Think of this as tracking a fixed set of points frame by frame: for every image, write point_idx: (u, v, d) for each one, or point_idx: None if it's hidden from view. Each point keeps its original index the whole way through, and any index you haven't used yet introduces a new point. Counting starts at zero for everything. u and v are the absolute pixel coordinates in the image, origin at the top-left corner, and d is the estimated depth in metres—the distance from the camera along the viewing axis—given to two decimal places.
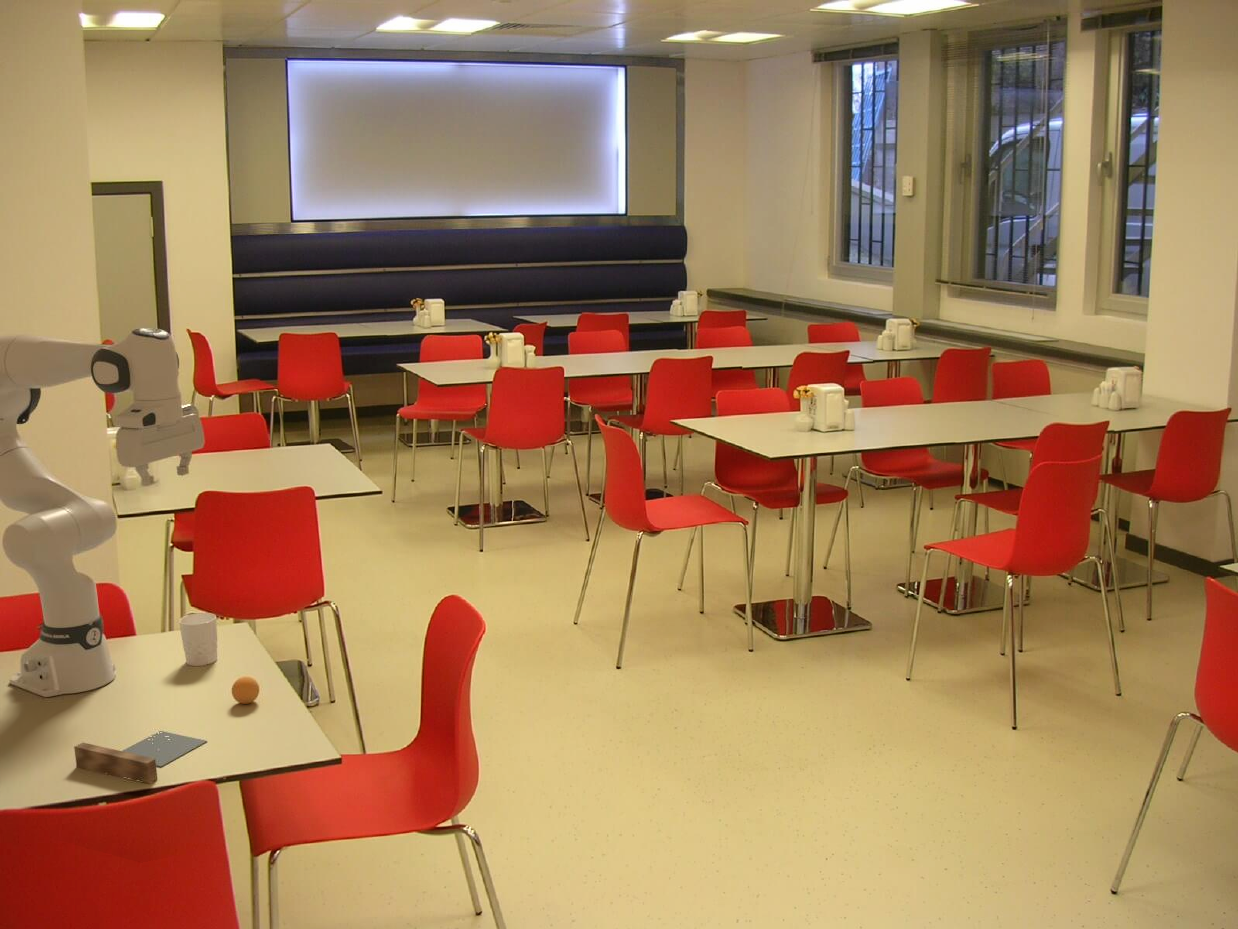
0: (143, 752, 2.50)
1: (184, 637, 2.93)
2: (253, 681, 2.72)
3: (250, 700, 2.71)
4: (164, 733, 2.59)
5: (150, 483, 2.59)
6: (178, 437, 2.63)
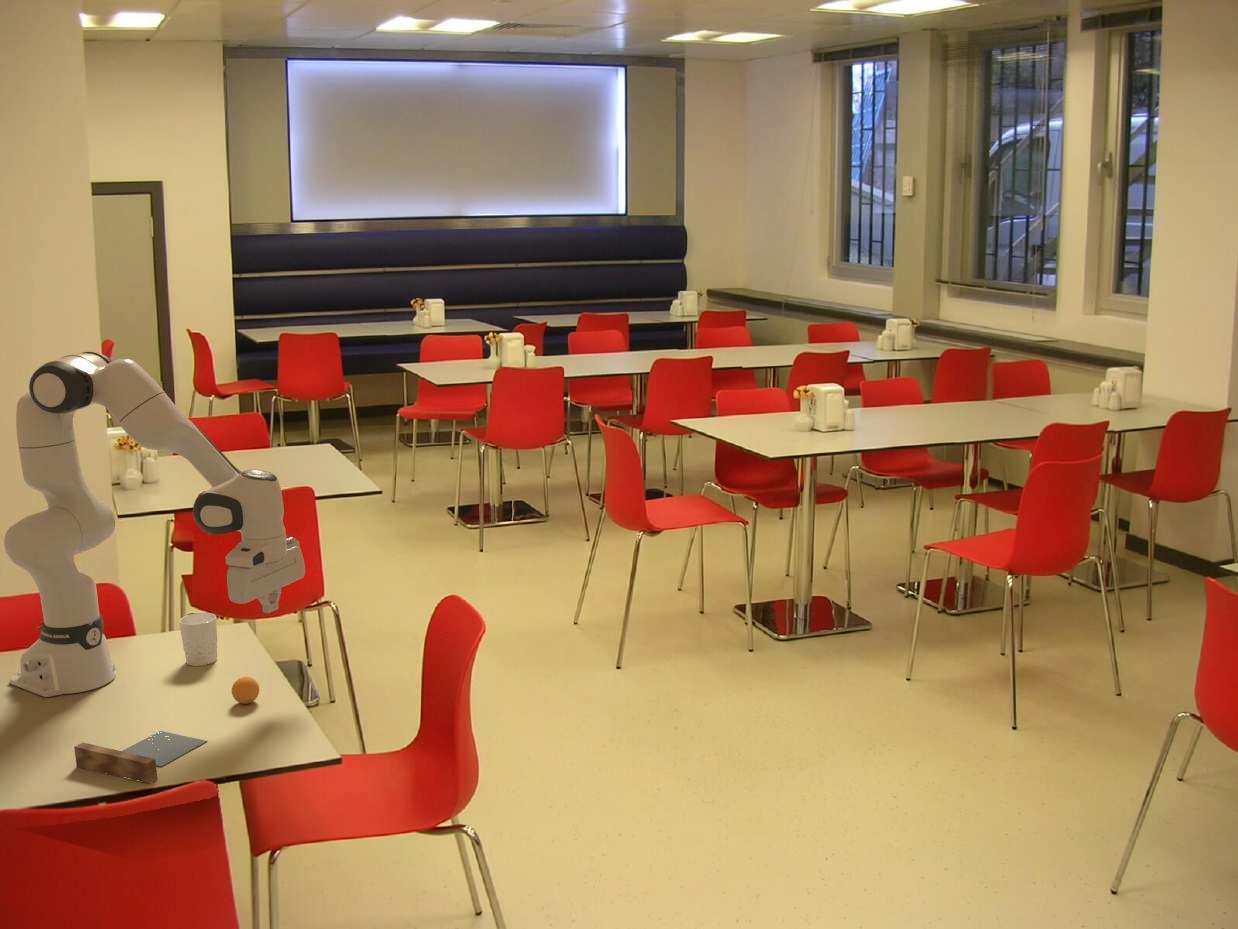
0: (143, 752, 2.50)
1: (184, 637, 2.93)
2: (253, 681, 2.72)
3: (250, 700, 2.71)
4: (164, 733, 2.59)
5: (270, 610, 2.77)
6: (282, 570, 2.78)
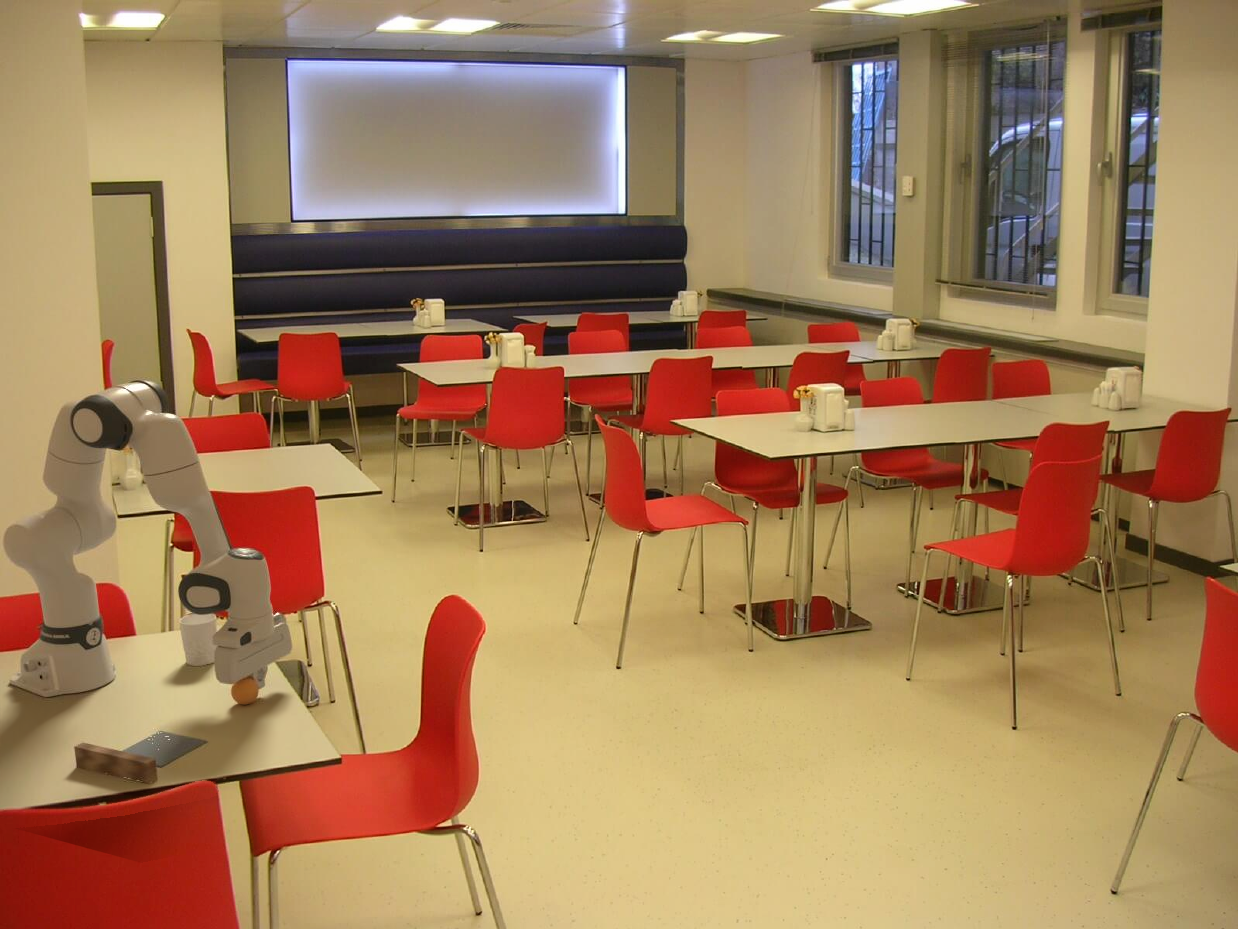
0: (143, 752, 2.50)
1: (184, 637, 2.93)
2: (252, 682, 2.72)
3: (250, 701, 2.71)
4: (164, 733, 2.59)
5: None
6: (269, 648, 2.76)
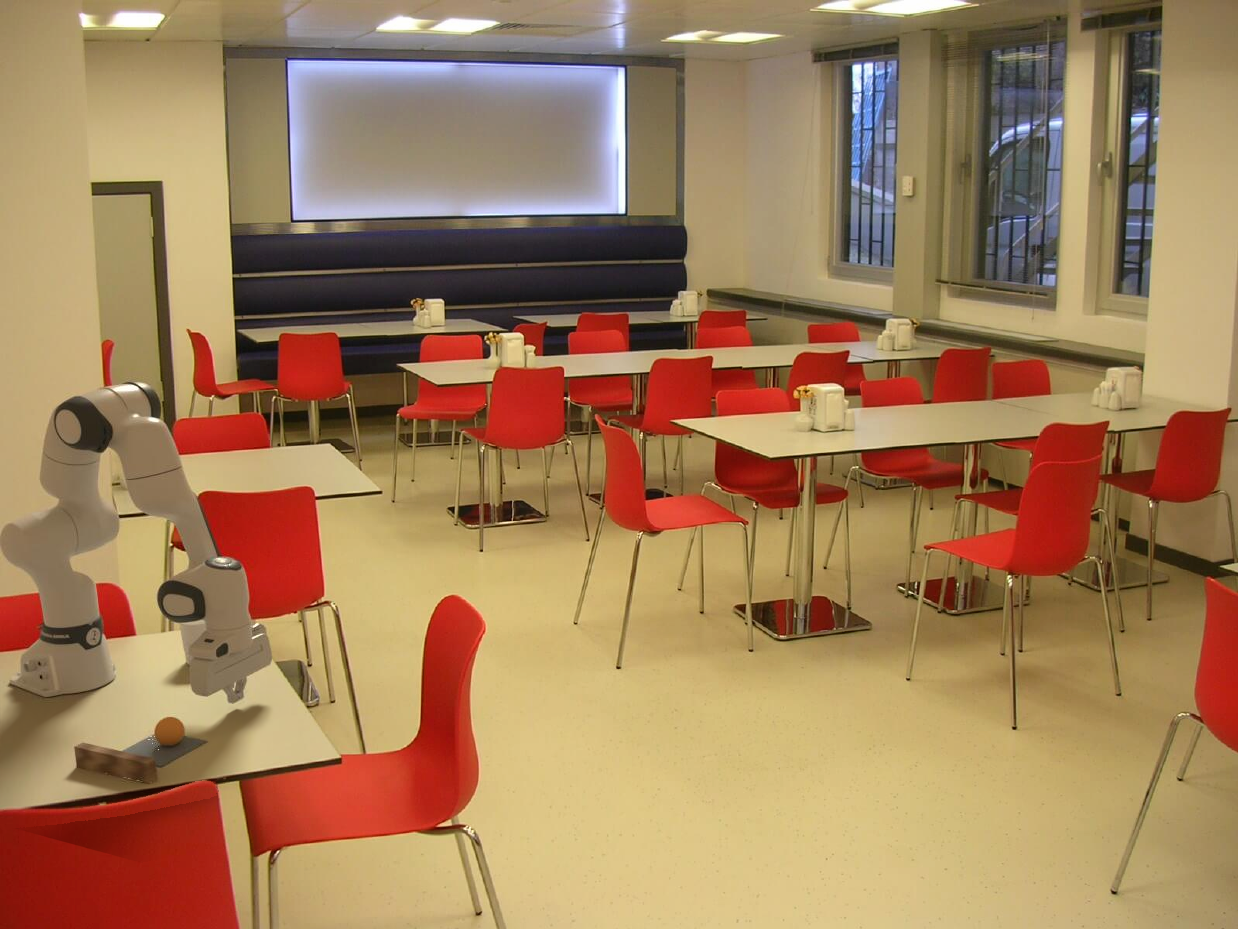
0: (143, 752, 2.50)
1: (184, 637, 2.93)
2: (169, 732, 2.51)
3: (182, 737, 2.54)
4: None
5: (235, 701, 2.69)
6: (248, 659, 2.70)
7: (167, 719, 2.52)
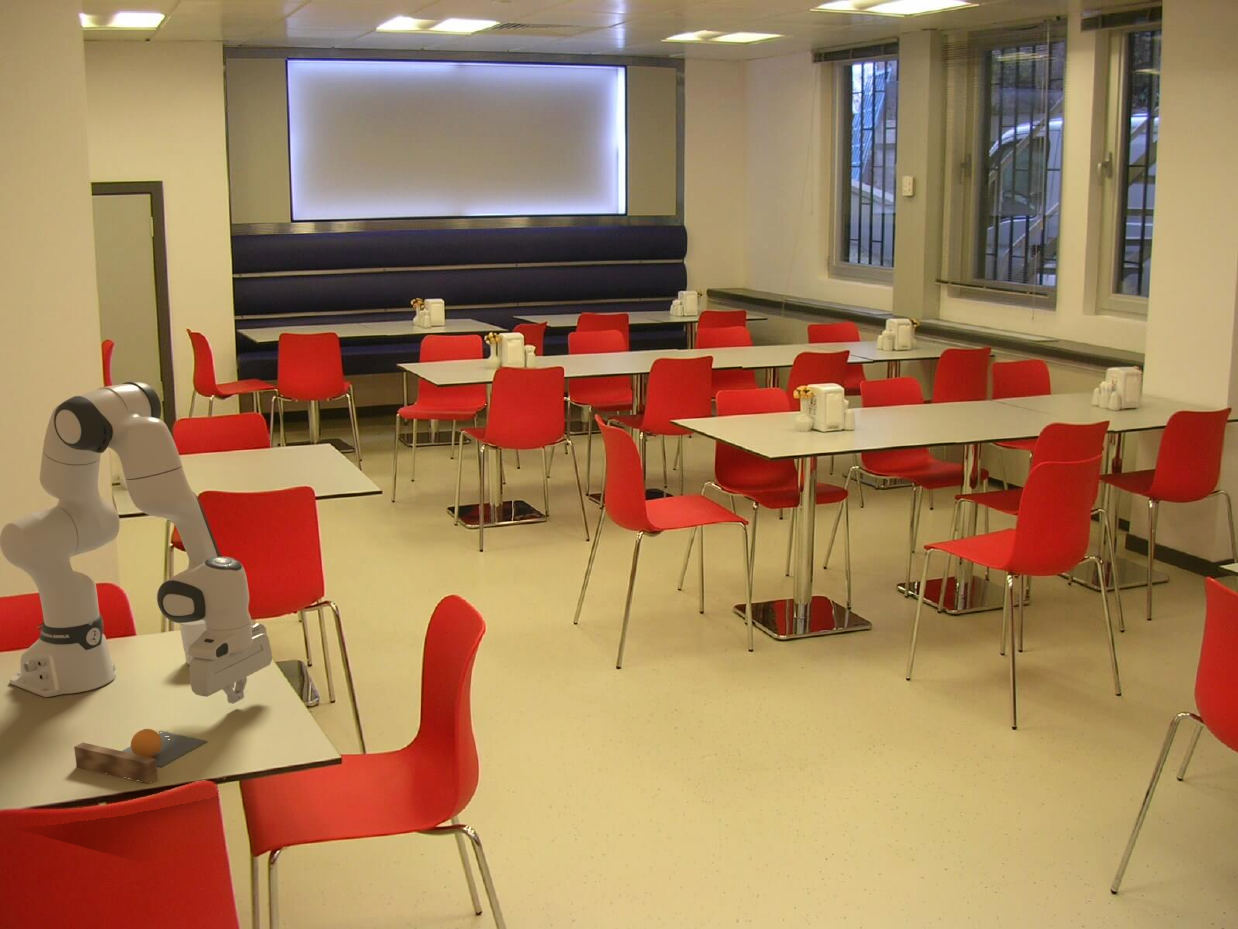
0: None
1: (184, 637, 2.93)
2: (156, 754, 2.48)
3: (154, 735, 2.47)
4: (164, 733, 2.59)
5: (235, 701, 2.69)
6: (248, 659, 2.70)
7: None
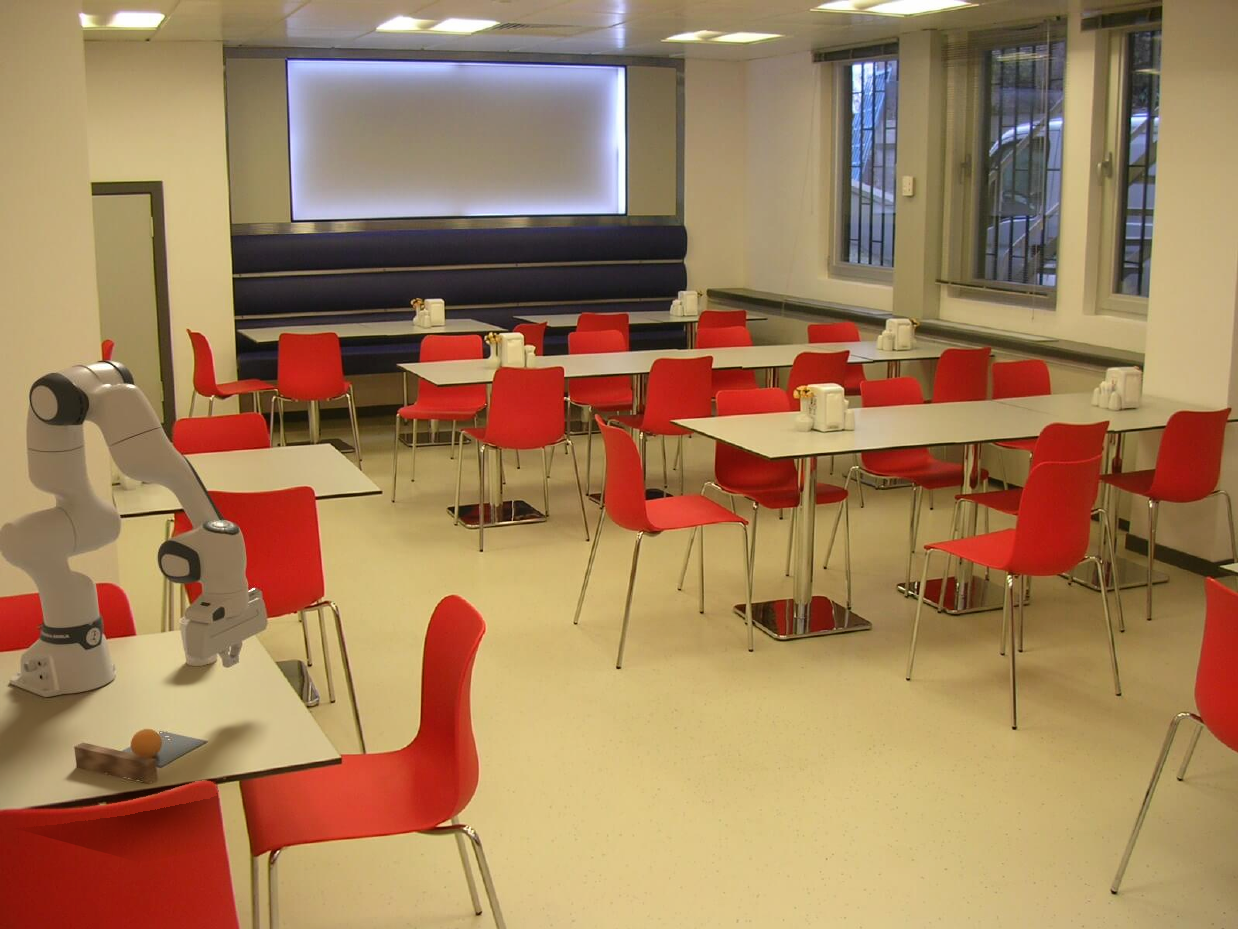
0: None
1: (184, 637, 2.93)
2: (156, 754, 2.48)
3: (154, 735, 2.47)
4: (164, 733, 2.59)
5: (230, 665, 2.68)
6: (244, 623, 2.69)
7: None
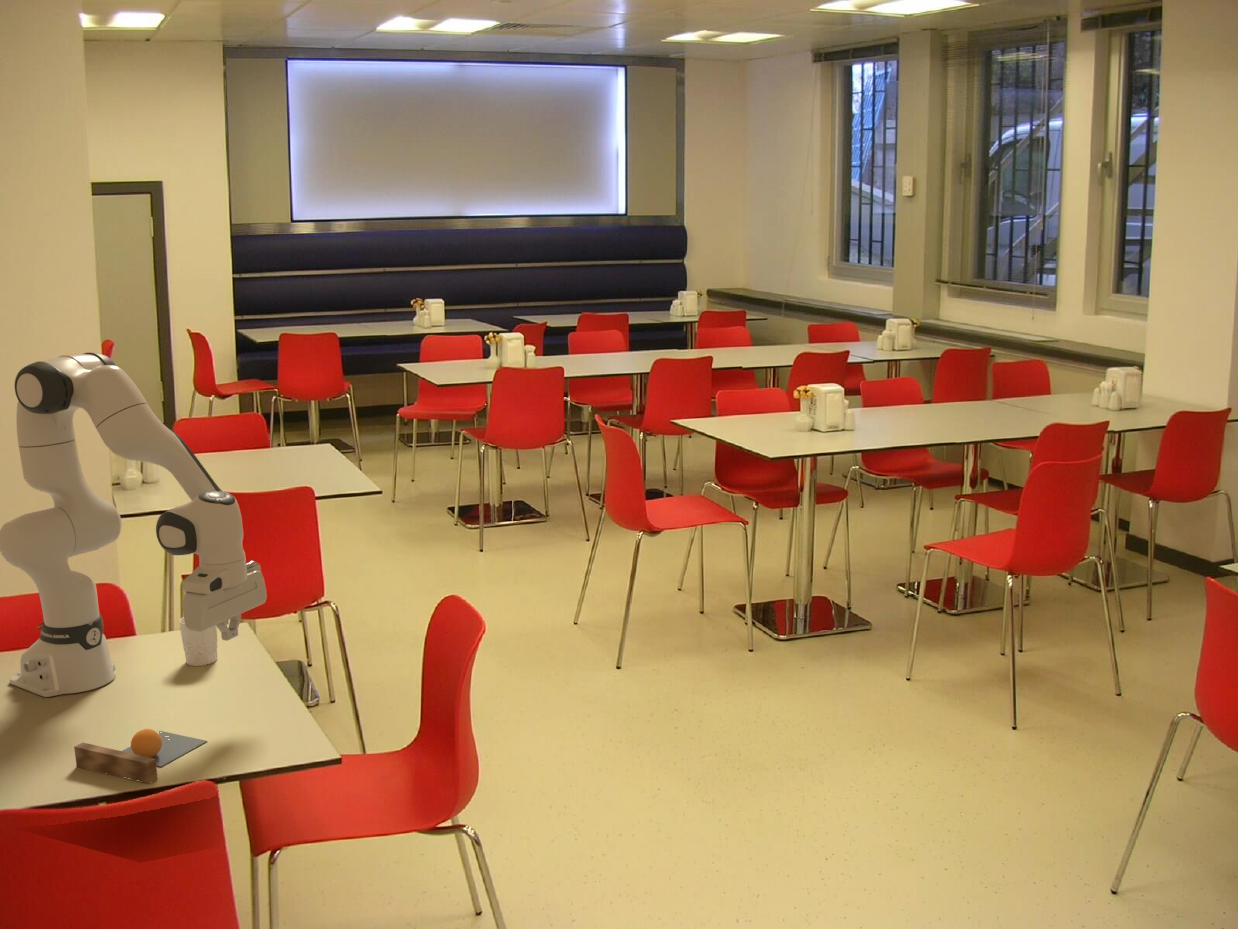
0: None
1: (184, 637, 2.93)
2: (156, 754, 2.48)
3: (154, 735, 2.47)
4: (164, 733, 2.59)
5: (229, 638, 2.66)
6: (242, 596, 2.67)
7: None
